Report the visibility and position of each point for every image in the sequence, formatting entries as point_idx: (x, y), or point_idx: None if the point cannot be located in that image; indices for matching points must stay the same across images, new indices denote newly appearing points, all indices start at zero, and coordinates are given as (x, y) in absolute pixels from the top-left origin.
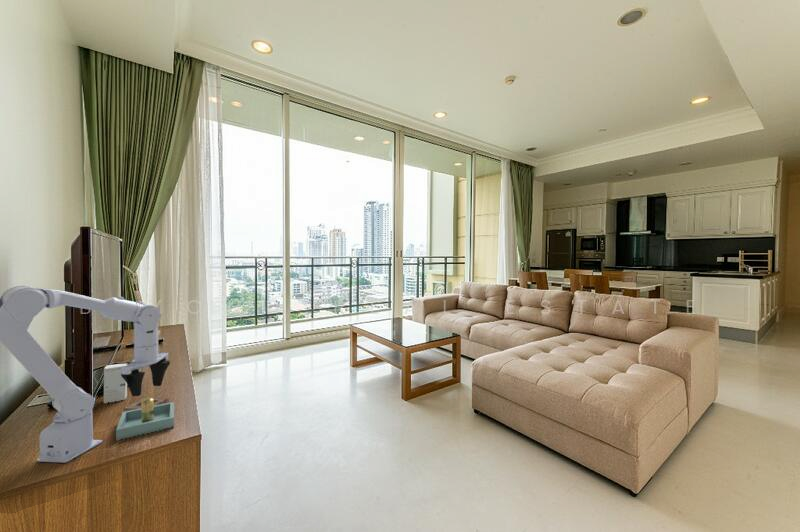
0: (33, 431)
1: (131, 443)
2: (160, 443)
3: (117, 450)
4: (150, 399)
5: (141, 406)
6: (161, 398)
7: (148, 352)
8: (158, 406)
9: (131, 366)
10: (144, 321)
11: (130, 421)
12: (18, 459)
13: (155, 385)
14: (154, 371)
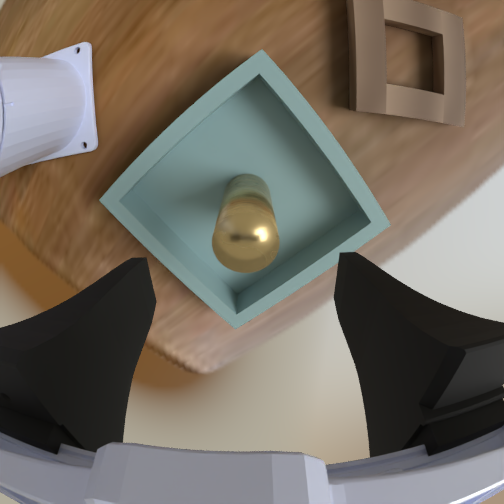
0: None
1: (120, 250)
2: None
3: (83, 243)
4: (245, 263)
5: (218, 216)
6: (459, 97)
7: None
8: (345, 182)
9: (4, 494)
10: None
11: (247, 107)
12: (8, 16)
13: (338, 269)
14: (383, 343)
